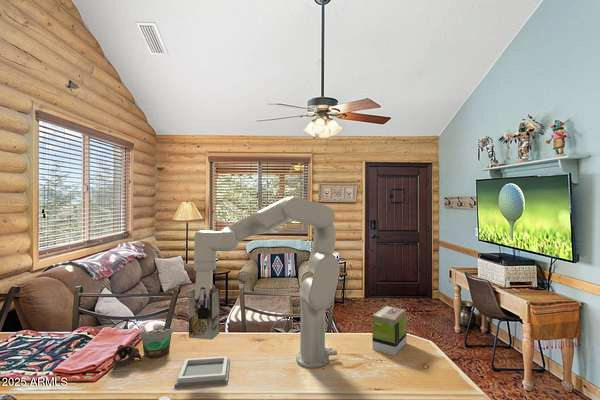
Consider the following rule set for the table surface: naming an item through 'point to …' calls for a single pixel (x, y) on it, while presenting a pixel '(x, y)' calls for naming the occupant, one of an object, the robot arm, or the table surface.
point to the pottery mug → (123, 352)
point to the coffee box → (204, 326)
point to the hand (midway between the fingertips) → (204, 314)
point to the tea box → (389, 330)
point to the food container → (156, 342)
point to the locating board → (203, 372)
